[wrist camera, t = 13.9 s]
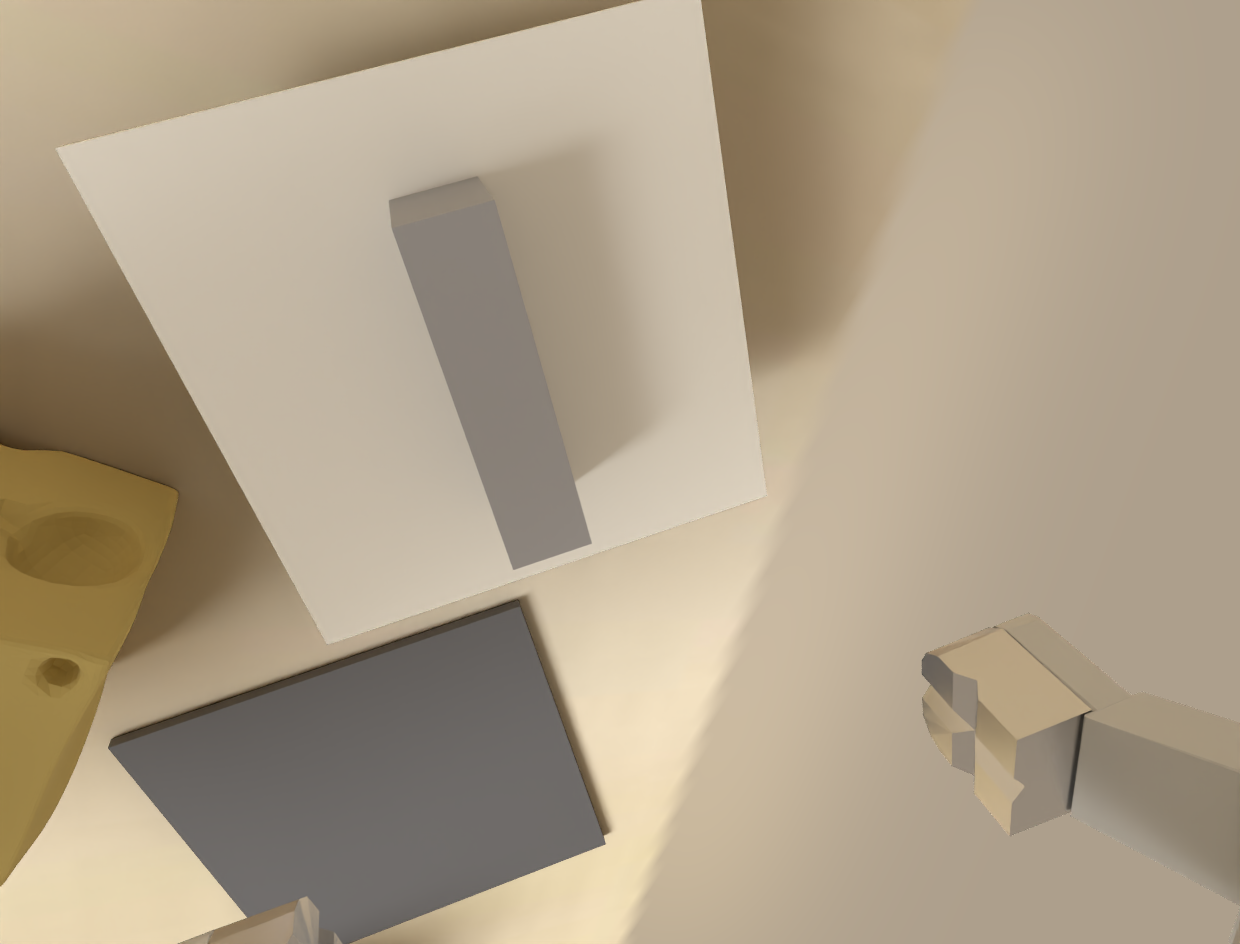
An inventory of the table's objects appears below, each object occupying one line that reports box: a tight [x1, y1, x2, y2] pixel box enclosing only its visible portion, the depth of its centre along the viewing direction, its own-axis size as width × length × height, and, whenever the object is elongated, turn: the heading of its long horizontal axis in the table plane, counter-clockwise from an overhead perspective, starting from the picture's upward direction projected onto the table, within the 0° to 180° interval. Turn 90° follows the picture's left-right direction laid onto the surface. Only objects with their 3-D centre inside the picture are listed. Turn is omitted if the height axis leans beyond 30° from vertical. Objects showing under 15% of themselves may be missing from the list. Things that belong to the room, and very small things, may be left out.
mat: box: [108, 600, 606, 944], centre depth 40 cm, size 18×18×1 cm
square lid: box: [55, 0, 767, 645], centre depth 22 cm, size 16×16×4 cm
